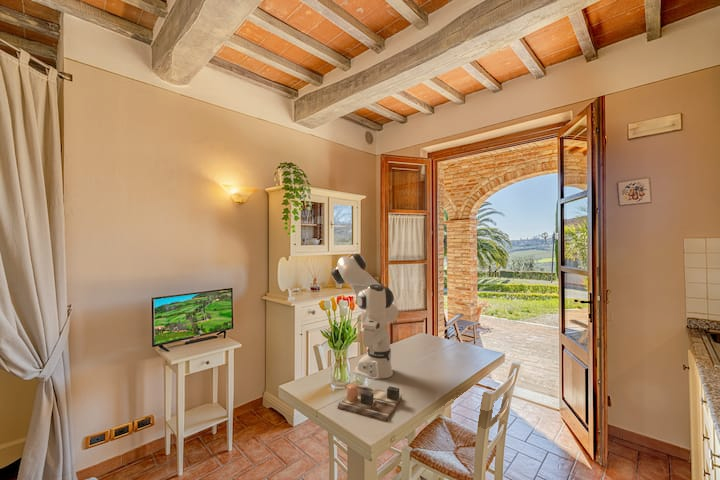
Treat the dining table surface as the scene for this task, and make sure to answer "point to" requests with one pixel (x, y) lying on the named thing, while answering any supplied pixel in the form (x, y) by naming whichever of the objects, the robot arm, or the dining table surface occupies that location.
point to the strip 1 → (362, 400)
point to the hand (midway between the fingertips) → (376, 350)
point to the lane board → (377, 411)
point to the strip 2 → (387, 395)
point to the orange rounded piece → (352, 393)
